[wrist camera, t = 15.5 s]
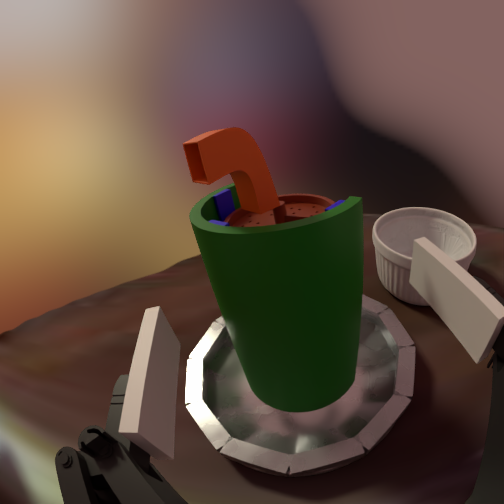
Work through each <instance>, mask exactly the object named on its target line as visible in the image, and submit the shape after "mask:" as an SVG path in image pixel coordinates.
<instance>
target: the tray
mask: <svg viewBox="0 0 504 504" xmlns="http://www.w3.org/2000/svg"><path fill="white" fill-rule="evenodd" d="M189 358H190V359H188V365H187V379H186V396H185V404H186V405H187V406H186V407H187V409H188V410H189V412H190V413H191V415H192V416H193V418H194V419H195V421H196V422H197V424H198V425H199V427H200V428H201V429H202V431H203V432H204V434H205V435H206V436H207V438H208V439H209V440H210V442H211V443H212V445H213V446H214V447H215V449H216V450H217V451H218V452H219V453H220V454H222V455H223V456H224V457H226V458H228V459H230V460H233V461H236V462H239V463H240V464H242V465H244V466H246V467H249V468H251V469H254V470H256V471H259V472H263V473H267V474H271V475H276V476H284V477H299V476H312V475H317V474H322V473H326V472H330V471H333V470H336V469H338V468H341V467H344V466H346V465H348V464H350V463H352V462H354V461H356V460H358V459H361V458H362V457H363V456H364V455H367V454H368V453H369V452H370V451H371V450H372V449H373V448H374V447H375V446H376V445H378V444H379V443H380V442H381V441H382V440H383V439H384V438H385V437H386V435H387V434H388V433H389V431H390V430H391V429H392V427H393V426H394V425H395V423H396V422H397V420H398V419H399V418H400V417H401V416H402V414H403V413H404V412H405V410H406V409H407V407H408V406H409V404H410V402H411V399H412V397H413V387H414V372H415V347H414V342H413V341H412V339H411V338H410V336H409V335H408V333H407V332H406V330H405V329H404V327H403V326H402V324H401V323H400V322H399V320H398V319H397V317H396V316H395V314H394V313H393V312H392V310H391V309H388V306H386V305H384V304H382V303H380V302H377V301H375V300H373V299H371V298H369V297H367V296H365V295H362V313H361V327H360V338H359V348H358V358H357V366H356V374H355V381H354V383H353V384H352V386H351V387H350V389H349V390H348V391H347V392H346V393H345V394H344V395H343V396H342V397H341V398H340V399H338V400H337V401H335V402H334V403H332V404H330V405H328V406H326V407H324V408H321V409H318V410H314V411H310V412H299V413H297V412H286V411H281V410H278V409H275V408H273V407H270V406H269V405H267V404H265V403H264V402H262V401H261V400H260V399H259V398H258V397H257V396H256V395H255V394H254V393H253V391H252V390H251V388H250V386H249V383H248V381H247V378H246V376H245V373H244V371H243V368H242V366H241V363H240V361H239V358H238V356H237V353H236V351H235V348H234V345H233V343H232V340H231V337H230V335H229V332H228V329H227V327H226V324H225V321H224V319H223V316H222V317H220V318H218V319H217V320H216V322H213V324H212V325H211V326H210V328H209V329H208V331H207V332H206V333H205V335H204V336H203V338H202V339H201V341H200V342H199V343H198V345H197V346H196V348H195V349H194V350H193V352H192V353H191V355H190V356H189Z"/></svg>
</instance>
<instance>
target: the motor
mask: <svg viewBox="0 0 504 504" xmlns="http://www.w3.org/2000/svg"><path fill="white" fill-rule="evenodd" d="M183 147H184V151H185V155H186V159H187V162H188V166H189V170H190V173H191V177H192V181H193V182H195V183H202V184H207V185H210V184H211V183H213V182H215V181H216V180H218V179H220V178H222V177H223V176H225V175H227V174H230V175H231V177H232V179H233V181H234V183H232V184H230V185H227V186H225V187H222V188H220V189H218V190H216V191H214V192H212V193H210V194H209V195H207V196H206V197H204V198H203V199H201V200H200V201H199V202H198V203H196V205H195V206H194V207H193V208H192V210H191V212H190V215H189V217H190V221H191V224H192V228H193V231H194V234H195V237H196V240H197V243H198V246H199V249H200V252H201V255H202V258H203V261H204V264H205V267H206V270H207V273H208V276H209V279H210V282H211V285H212V288H213V291H214V293H215V296H216V299H217V302H218V305H219V308H220V310H221V313H222V316H223V319H224V321H225V324H226V327H227V329H228V332H229V335H230V337H231V340H232V343H233V345H234V348H235V351H236V353H237V356H238V358H239V361H240V363H241V366H242V368H243V371H244V373H245V376H246V378H247V381H248V383H249V386H250V388H251V390H252V391H253V393H254V394H255V395H256V396H257V397H258V398H259V399H260V400H261V401H262V402H264V403H265V404H267V405H269V406H270V407H273V408H275V409H278V410H281V411H286V412H297V413H299V412H310V411H314V410H318V409H321V408H324V407H326V406H328V405H330V404H332V403H334V402H335V401H337V400H338V399H340V398H341V397H342V396H343V395H344V394H345V393H346V392H347V391H348V390H349V389H350V387H351V386H352V384H353V383H354V381H355V374H356V366H357V358H358V348H359V338H360V327H361V313H362V295H363V208H362V198H361V197H352V196H350V197H349V198H348V199H347V200H346V201H344V200H339V201H337V202H336V203H335V202H334V201H332V200H330V199H328V198H326V197H323V196H319V195H313V194H285V195H278V196H277V193H276V190H275V187H274V184H273V181H272V178H271V175H270V172H269V170H268V167H267V165H266V162H265V159H264V157H263V155H262V153H261V151H260V149H259V147H258V145H257V144H256V142H255V140H254V139H253V138H252V136H251V135H250V134H249V133H248V132H246V131H245V130H243V129H241V128H236V127H233V128H226V129H220V130H214V131H210V132H206V133H204V134H201V135H199V136H197V137H195V138H193V139H191V140H189V141H187V142H185V143H183Z"/></svg>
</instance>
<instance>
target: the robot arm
mask: <svg viewBox="0 0 504 504" xmlns="http://www.w3.org/2000/svg"><path fill="white" fill-rule="evenodd" d="M409 283H410V284H411V285H412V286H413V287H414V288H415V289H416V290H417V291H418V292H419V294H420V295H421V296H422V297H423V298H424V299H425V300H426V301H427V303H428V304H429V305H430V306H431V307H432V308H433V310H434V311H435V312H436V313H437V314H438V315H439V317H440V318H441V319H442V320H443V321H444V323H445V324H446V325H447V326H448V327H449V329H450V330H451V331H452V332H453V334H454V335H455V336H456V337H457V339H458V340H459V341H460V342H461V344H462V345H463V346H464V348H465V349H466V350H467V352H468V353H469V354H470V356H471V357H472V358H473V360H474V361H475V362H476V364H478V363H479V362H480V361H482V360H483V359H485V358H486V357H487V356H488V354H489V353H490V351H491V349H492V348H493V349H494V351H495V352H494V354H493V356H492V358H491V359H490V361H489V363H488V365H487V368H489V367H490V365H491V364H492V362H493V366H492V368H493V381H492V397H491V408H490V417H489V424H488V431H487V437H486V442H485V448H484V452H483V457H482V461H481V465H480V469H479V473H478V477H477V480H476V484H475V487H474V490H473V493H472V494H471V496H470V497H469V498H468V500H467V501H466V502H465V504H504V299H503V298H502V297H501V296H500V295H499V294H498V293H496V291H495V290H494V289H493V288H491V287H490V285H488V284H487V283H486V282H485V281H484V280H483V279H481V278H479V277H477V276H473V277H472V276H471V275H470V274H469V273H468V272H467V271H466V270H464V269H463V268H462V267H461V266H460V265H459V264H457V263H456V262H455V261H454V260H453V259H452V258H450V257H449V256H448V255H447V254H446V253H444V252H443V251H442V250H441V249H439V248H438V247H437V246H436V245H434V244H433V243H432V242H431V241H429V240H428V239H427V238H425V237H422V238H418V239H415V240H414V243H413V254H412V264H411V272H410V280H409ZM180 345H181V344H180V342H179V341H178V339H177V337H176V335H175V334H174V332H173V330H172V328H171V326H170V325H169V323H168V321H167V319H166V317H165V315H164V313H163V311H162V310H161V308H160V306H158V307H153V308H148V309H146V310H145V314H144V317H143V321H142V325H141V329H140V332H139V336H138V340H137V344H136V348H135V352H134V357H133V361H132V365H131V370H130V374H129V375H121V376H120V377H119V379H118V381H117V382H116V384H115V386H114V390H113V397H112V399H111V405H110V408H109V413H108V418H107V423H106V428H105V430H104V429H102V428H101V427H99V426H96V425H95V426H89V427H87V428H85V429H84V430H83V431H82V432H81V434H80V436H79V439H78V446H79V449H80V450H81V451H76V450H75V449H73V448H71V447H63V448H61V449H60V450H59V451H58V453H57V454H56V458H55V465H56V470H57V475H58V480H59V485H60V489H61V493H62V497H63V501H64V504H188V503H187V502H186V501H185V500H184V499H183V498H182V497H181V496H180V495H179V494H178V493H177V492H176V491H175V490H174V489H173V487H172V486H171V485H170V484H169V483H168V482H167V481H166V480H165V479H164V477H163V476H162V475H161V474H160V473H159V472H158V470H157V469H156V468H155V467H154V466H153V464H151V463H150V455H151V456H152V457H154V458H155V459H157V460H174V436H175V413H176V395H177V380H178V367H179V356H180Z"/></svg>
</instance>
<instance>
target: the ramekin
mask: <svg viewBox="0 0 504 504" xmlns="http://www.w3.org/2000/svg"><path fill="white" fill-rule="evenodd" d="M422 237H425V238H427V239H428V240H429V241H431V242H432V243H433V244H434V245H436V246H437V247H438V248H439V249H441V250H442V251H443V252H444V253H446V254H447V255H448V256H449V257H450V258H452V259H453V260H454V261H455V262H456V263H457V264H459V265H460V266H461V267H462V268H463V269H464V270H466V271H467V270H468V268H469V265H470V262H471V261H472V259H473V257H474V255H475V250H476V243H477V241H476V236H475V233H474V232H473V230H472V229H471V227H470V226H469V225H468V224H467V223H465V222H464V221H463V220H461V219H460V218H458V217H456V216H454V215H452V214H450V213H447V212H444V211H441V210H436V209H431V208H422V207H411V208H402V209H397V210H393V211H390V212H388V213H386V214H384V215H382V216H381V217H380V218H378V219H377V221H376V222H375V224H374V226H373V235H372V238H373V243H374V246H375V252H376V263H377V270H378V275H379V278H380V281H381V282H382V284H383V285H384V287H385V288H386V289H387V290H388V291H389V292H390V293H391V294H392V295H394V296H395V297H397V298H398V299H400V300H402V301H404V302H407V303H410V304H414V305H422V306H428V305H429V304H428V303H427V301H426V300H425V299H424V298H423V297H422V296H421V295H420V294H419V292H418V291H417V290H416V289H415V288H414V287H413V286H412V285H411V284H410V283H409V280H410V272H411V264H412V254H413V243H414V240H415V239H418V238H422Z"/></svg>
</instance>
